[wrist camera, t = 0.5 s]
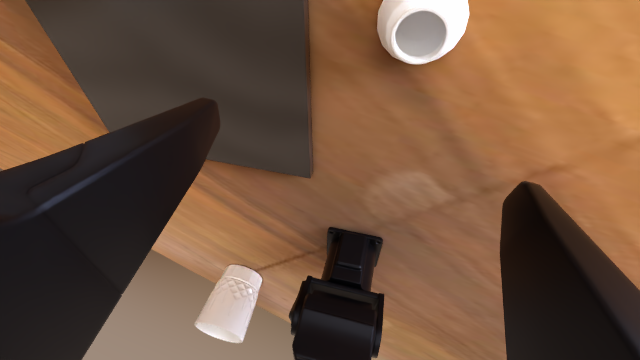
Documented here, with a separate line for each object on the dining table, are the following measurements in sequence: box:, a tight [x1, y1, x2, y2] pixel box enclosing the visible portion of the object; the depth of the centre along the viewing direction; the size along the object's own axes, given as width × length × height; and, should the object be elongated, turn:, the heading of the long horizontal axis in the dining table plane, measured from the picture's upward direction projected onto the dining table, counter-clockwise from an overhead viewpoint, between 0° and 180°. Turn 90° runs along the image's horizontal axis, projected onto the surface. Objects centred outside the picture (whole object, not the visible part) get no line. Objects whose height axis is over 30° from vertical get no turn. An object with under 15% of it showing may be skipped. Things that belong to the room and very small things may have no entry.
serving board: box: [25, 0, 313, 178], centre depth 26 cm, size 16×22×1 cm
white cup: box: [194, 265, 262, 343], centre depth 51 cm, size 8×8×10 cm
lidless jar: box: [377, 0, 469, 64], centre depth 18 cm, size 5×3×5 cm
